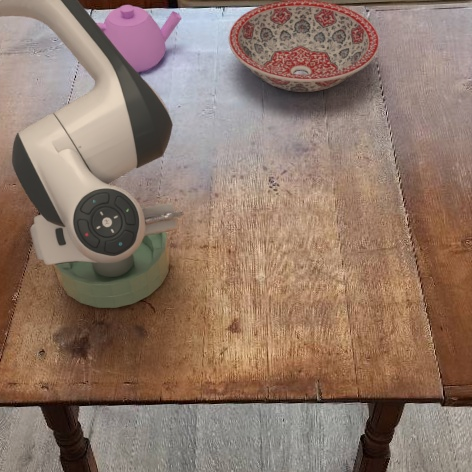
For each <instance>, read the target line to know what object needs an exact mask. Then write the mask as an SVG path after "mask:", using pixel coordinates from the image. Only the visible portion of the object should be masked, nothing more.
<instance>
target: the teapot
mask: <svg viewBox="0 0 472 472" xmlns="http://www.w3.org/2000/svg"><path fill="white" fill-rule="evenodd" d="M182 19H183V18H182V16H181V15H180V14H179V13H177V12H176V11H174V10H173V11H171V13H170V14H169V16H168V18H166V21H165V22H164V24H163V25H162V27H161V28H160V26H159V25H158V23H157V22H156V20H155V19H154V18H153V16H152V15H151V14H150V13H149V12H148V11H147V10H145V9H144V8H142V7H140V6H133V5H131V4H124V5H121V6H120V7H117V8H115V9H113V10H111V11H110V12H109V13H108V14H107V16H106V17H105V20H104V22H96V24H97V25H98V26H99V27H100V29H101V30H102V31H103V32H104V34H105V35H106V36H107V37H108V39H109V40H110V41H111V42H112V43H113V45H114V46H115V47H116V48H117V50H118V51H119V52H120V53H121V55H122V56H123V57H124V58H125V59H126V60H127V62H128V63H129V64H130V65H131V66H132V67H133V68H134V69H135V71H136V72H137V73H138V74H139V73H143V72H146V71H148V70H151V69H153V68H154V67H156V66H157V65H158V64H159V62H161V60H162V59H163V57H164V56H165V53H166V50H167V47H166V42H167V40H168V39H169V38H170V36H171V35H172V33H173V32H174V31H175V29H176V27H177V26H178V25H179V23H180V22H181V20H182Z"/></svg>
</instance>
